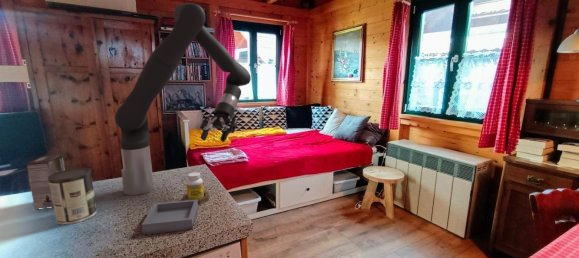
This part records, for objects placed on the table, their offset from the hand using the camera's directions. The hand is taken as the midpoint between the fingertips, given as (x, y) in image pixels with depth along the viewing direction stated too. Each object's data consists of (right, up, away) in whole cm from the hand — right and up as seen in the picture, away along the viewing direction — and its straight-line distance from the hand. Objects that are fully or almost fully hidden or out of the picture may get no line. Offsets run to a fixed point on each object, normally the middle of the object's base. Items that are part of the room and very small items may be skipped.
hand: (212, 140), depth 102 cm
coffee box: (-52, -22, -9) cm, 57 cm away
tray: (-6, -23, -21) cm, 32 cm away
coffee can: (-37, -23, -18) cm, 47 cm away
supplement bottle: (-4, -21, -7) cm, 23 cm away
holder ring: (-4, -21, -7) cm, 22 cm away
